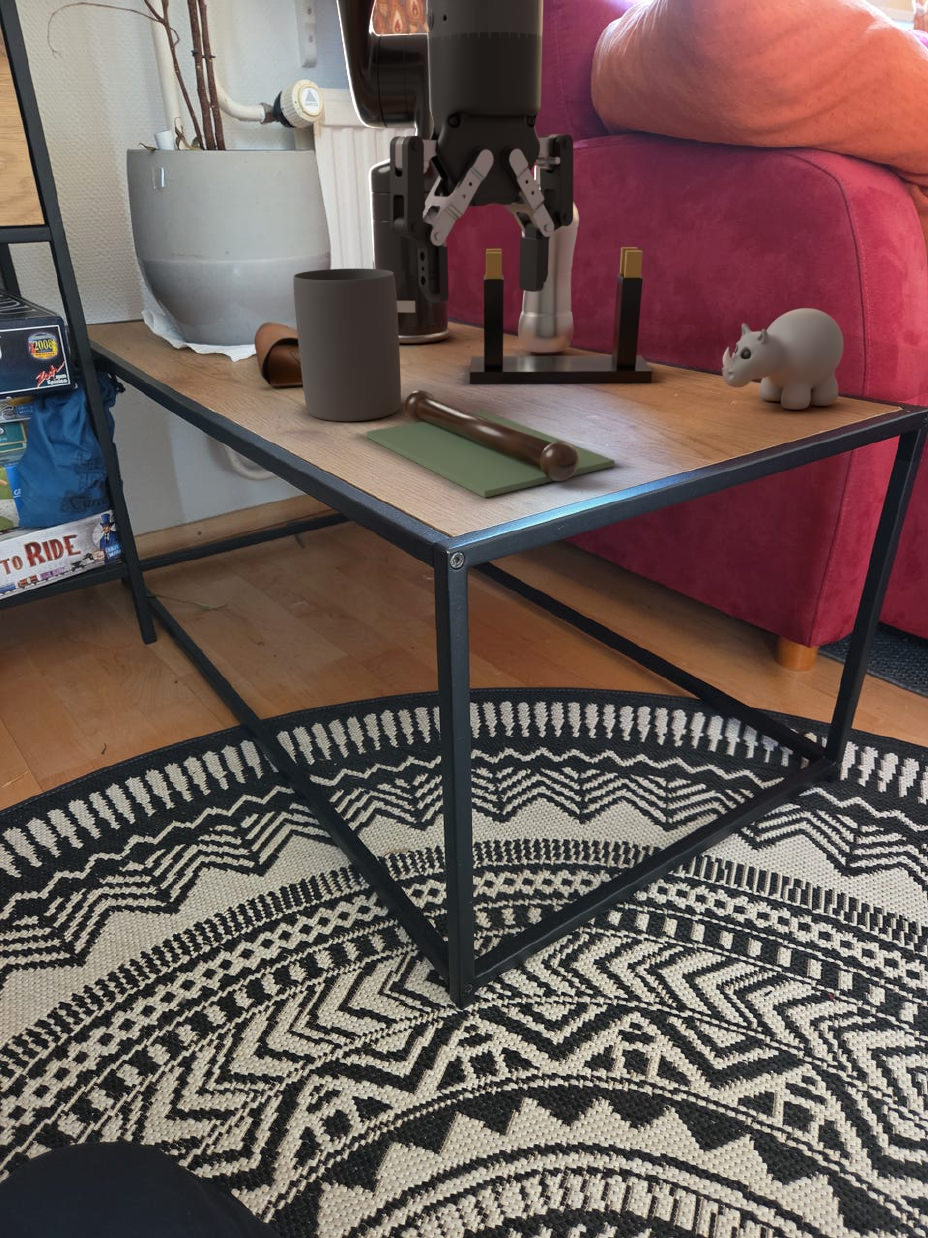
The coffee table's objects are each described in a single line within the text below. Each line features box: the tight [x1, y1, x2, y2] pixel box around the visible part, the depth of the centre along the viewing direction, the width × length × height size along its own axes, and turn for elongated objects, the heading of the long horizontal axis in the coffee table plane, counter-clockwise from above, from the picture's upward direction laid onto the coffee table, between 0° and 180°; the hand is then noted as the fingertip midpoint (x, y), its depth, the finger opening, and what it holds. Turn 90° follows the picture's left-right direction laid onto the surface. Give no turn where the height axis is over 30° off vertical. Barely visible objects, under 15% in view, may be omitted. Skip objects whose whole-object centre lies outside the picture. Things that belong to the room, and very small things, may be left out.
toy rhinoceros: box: [721, 307, 845, 411], centre depth 78 cm, size 7×12×8 cm, turn 108°
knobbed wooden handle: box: [404, 389, 579, 482], centre depth 68 cm, size 3×22×3 cm, turn 33°
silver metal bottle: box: [517, 165, 580, 355], centre depth 98 cm, size 6×7×20 cm
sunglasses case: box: [254, 321, 303, 388], centre depth 96 cm, size 18×7×7 cm
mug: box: [292, 268, 402, 422], centre depth 80 cm, size 14×9×12 cm
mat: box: [365, 410, 615, 499], centre depth 69 cm, size 18×12×1 cm, turn 33°
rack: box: [469, 246, 653, 384], centre depth 90 cm, size 8×19×12 cm, turn 88°
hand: (485, 295), depth 64 cm, fingers open, 8 cm apart
